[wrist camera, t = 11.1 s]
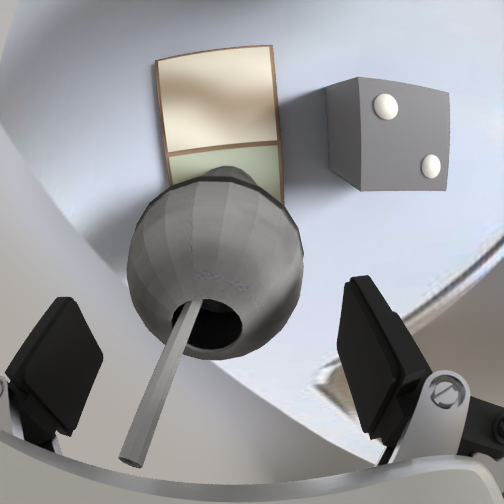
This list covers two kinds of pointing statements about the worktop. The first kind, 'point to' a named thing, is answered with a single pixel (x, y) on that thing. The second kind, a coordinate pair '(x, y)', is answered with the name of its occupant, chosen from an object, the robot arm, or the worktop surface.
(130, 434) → the beverage cup
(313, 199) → the worktop surface
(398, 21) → the worktop surface
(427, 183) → the die
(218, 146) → the game track
